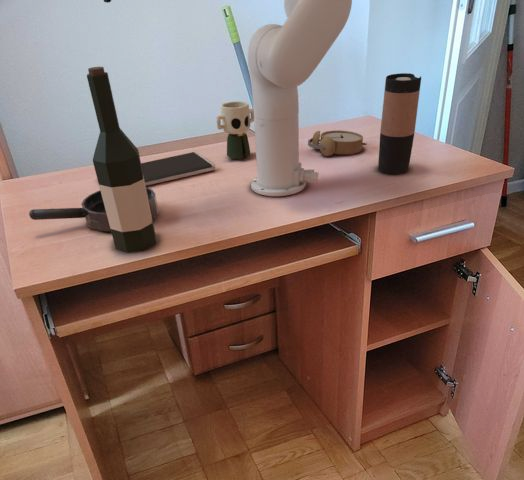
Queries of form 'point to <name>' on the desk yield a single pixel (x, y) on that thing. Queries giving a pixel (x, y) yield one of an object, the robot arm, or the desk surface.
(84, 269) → the desk surface
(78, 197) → the desk surface
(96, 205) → the pan
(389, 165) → the travel mug
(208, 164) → the smartphone
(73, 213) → the pan handle
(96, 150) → the wine bottle
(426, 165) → the desk surface
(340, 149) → the alarm clock
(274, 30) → the robot arm
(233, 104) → the character mug
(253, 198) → the desk surface
